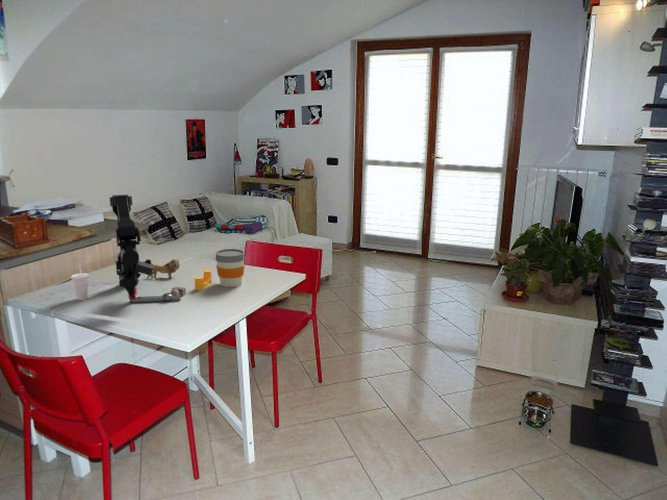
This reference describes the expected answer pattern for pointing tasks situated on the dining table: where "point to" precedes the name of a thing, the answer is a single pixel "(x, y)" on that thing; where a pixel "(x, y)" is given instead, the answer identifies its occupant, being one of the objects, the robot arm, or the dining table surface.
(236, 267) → the reusable coffee cup
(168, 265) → the lion figurine
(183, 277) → the dining table surface
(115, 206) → the robot arm
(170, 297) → the lever
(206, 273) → the pipe clamp
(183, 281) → the dining table surface
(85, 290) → the smoothie
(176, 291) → the tan rounded piece
